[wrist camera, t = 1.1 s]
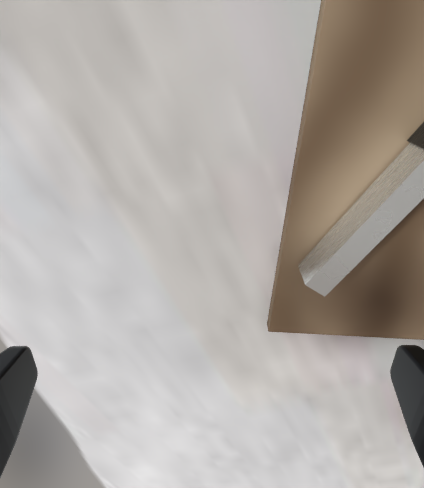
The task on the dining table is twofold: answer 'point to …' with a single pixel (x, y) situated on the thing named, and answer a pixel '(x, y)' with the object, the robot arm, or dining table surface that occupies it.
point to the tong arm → (368, 219)
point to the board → (355, 171)
